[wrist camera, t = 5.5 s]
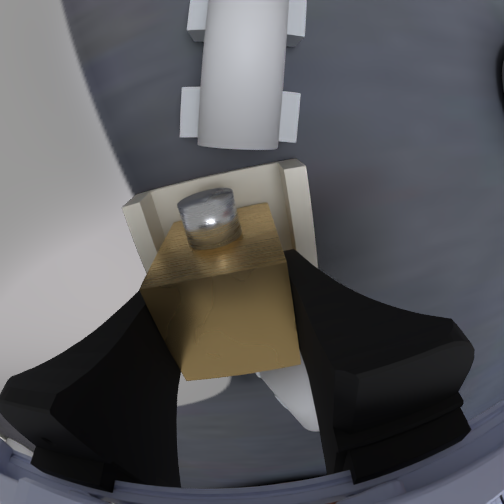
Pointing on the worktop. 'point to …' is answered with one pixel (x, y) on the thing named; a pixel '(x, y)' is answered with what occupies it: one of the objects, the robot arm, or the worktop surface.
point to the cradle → (245, 194)
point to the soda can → (503, 75)
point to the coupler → (223, 290)
